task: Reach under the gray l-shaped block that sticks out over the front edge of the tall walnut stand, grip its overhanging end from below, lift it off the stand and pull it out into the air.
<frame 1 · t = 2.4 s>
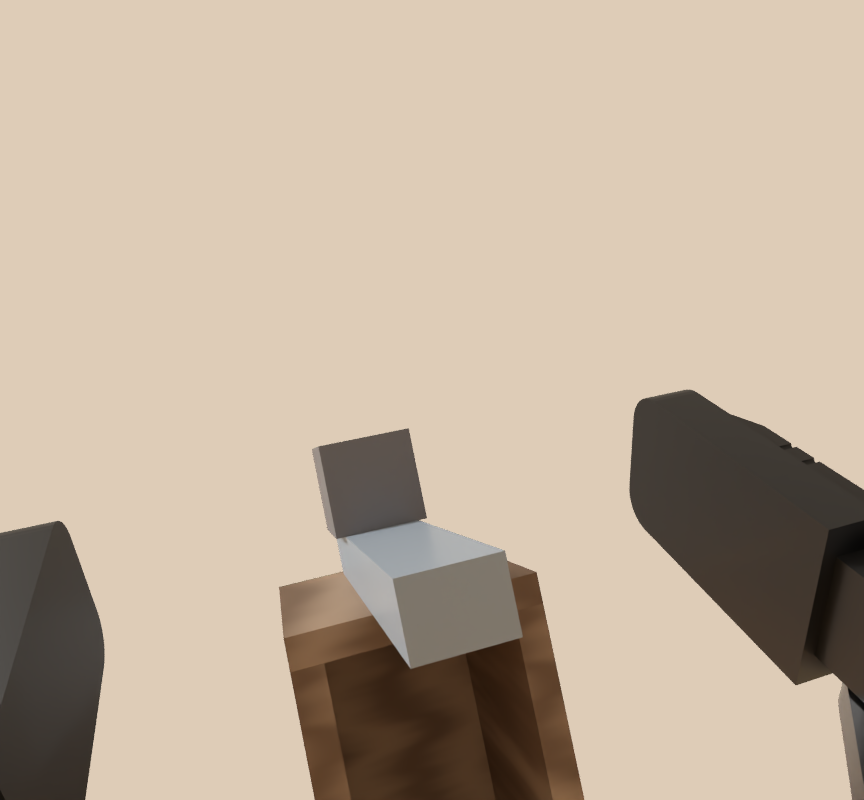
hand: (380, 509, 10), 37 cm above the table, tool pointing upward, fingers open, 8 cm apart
gray l-shaped block: (407, 596, 35), point 30 cm above the table, touching walnut stand
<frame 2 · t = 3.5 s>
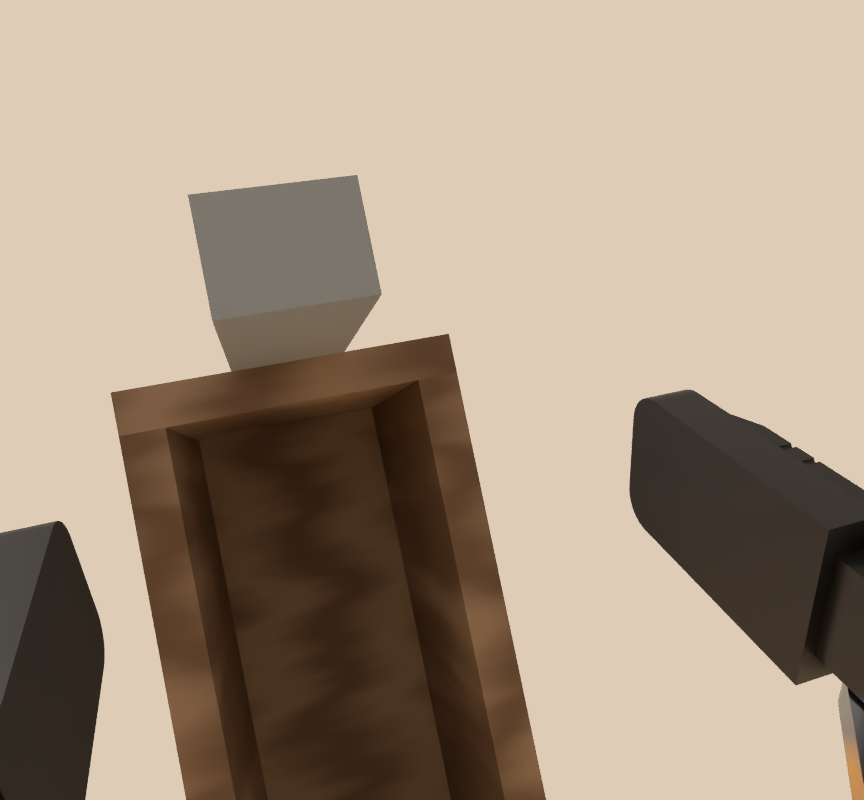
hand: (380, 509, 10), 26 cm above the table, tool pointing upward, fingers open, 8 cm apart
gray l-shaped block: (287, 369, 28), point 30 cm above the table, touching walnut stand
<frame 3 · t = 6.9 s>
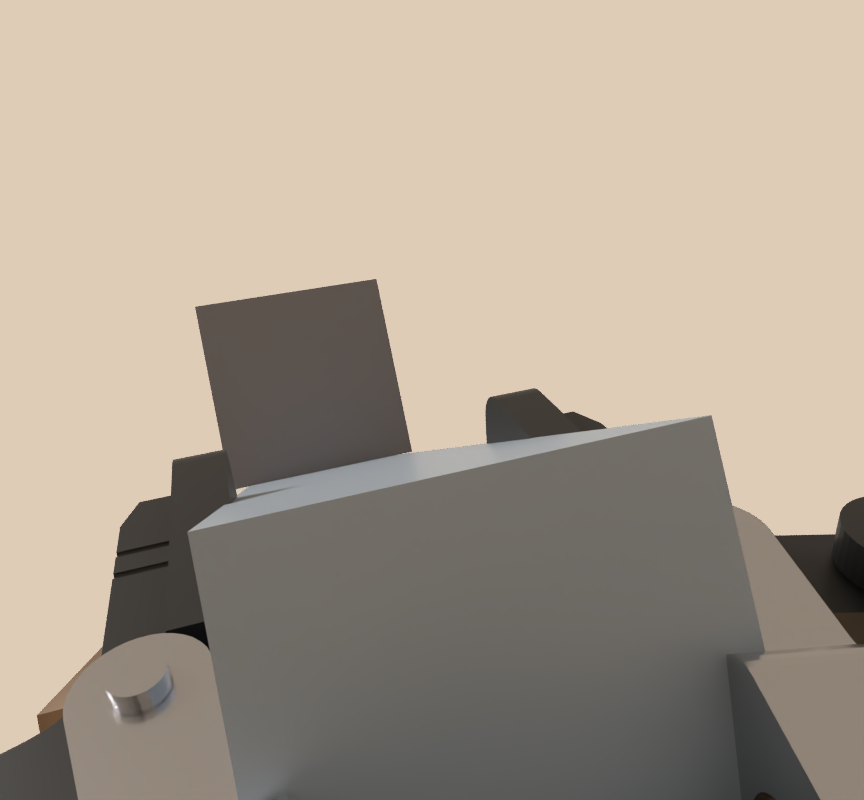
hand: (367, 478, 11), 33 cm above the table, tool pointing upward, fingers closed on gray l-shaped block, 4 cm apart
gray l-shaped block: (364, 605, 16), point 30 cm above the table, touching gripper, walnut stand
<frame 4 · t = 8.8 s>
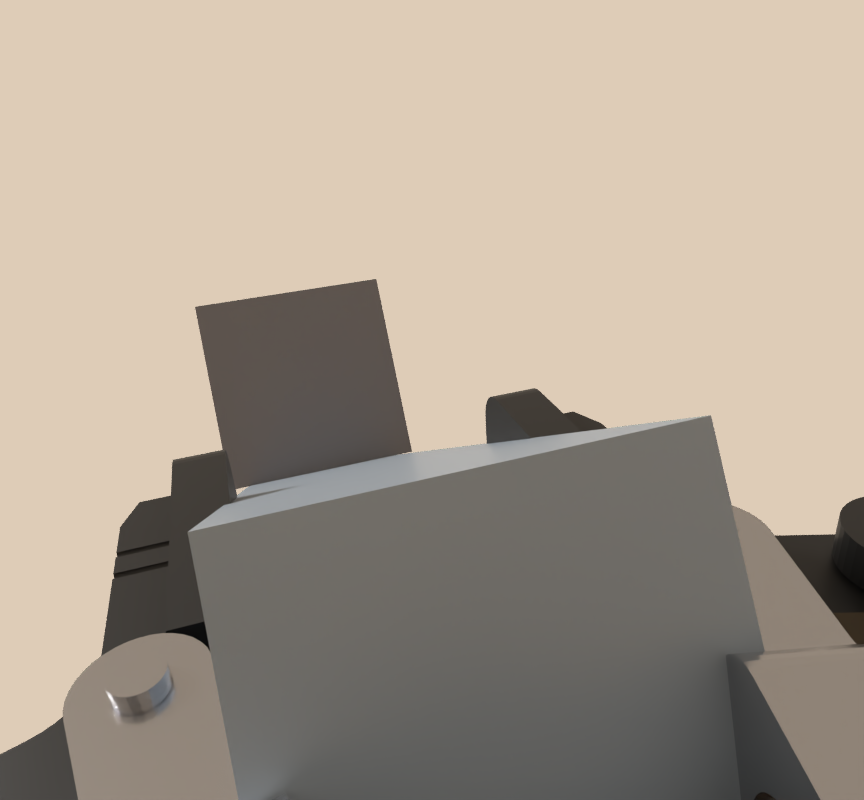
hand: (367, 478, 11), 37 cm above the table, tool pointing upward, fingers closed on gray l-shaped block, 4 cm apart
gray l-shaped block: (364, 605, 16), point 34 cm above the table, touching gripper
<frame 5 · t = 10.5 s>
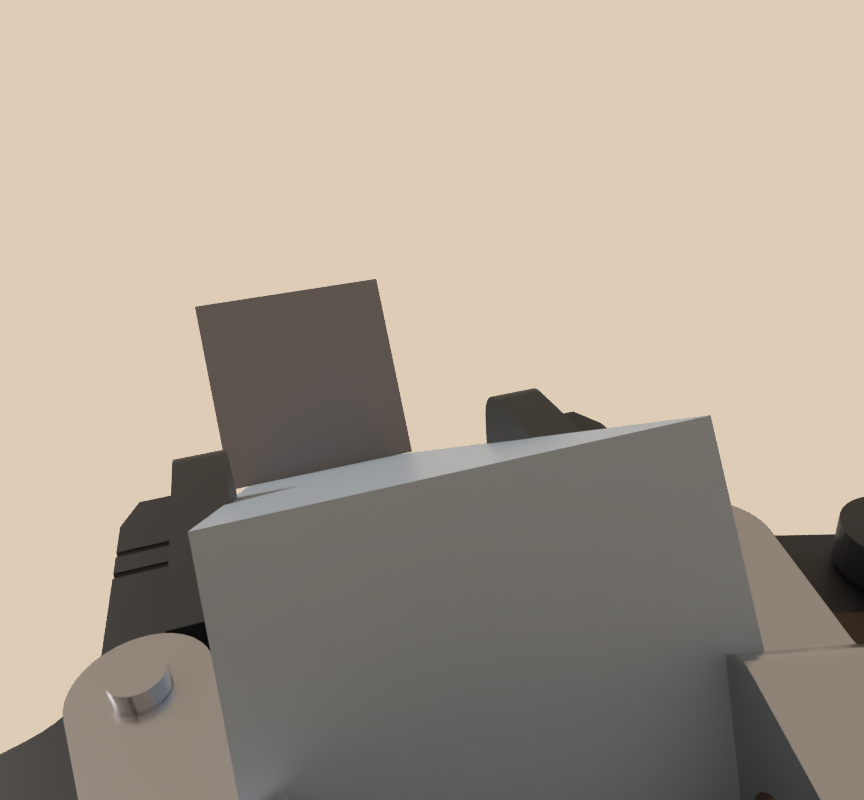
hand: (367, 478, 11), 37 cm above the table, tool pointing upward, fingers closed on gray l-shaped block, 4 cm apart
gray l-shaped block: (364, 605, 16), point 34 cm above the table, touching gripper
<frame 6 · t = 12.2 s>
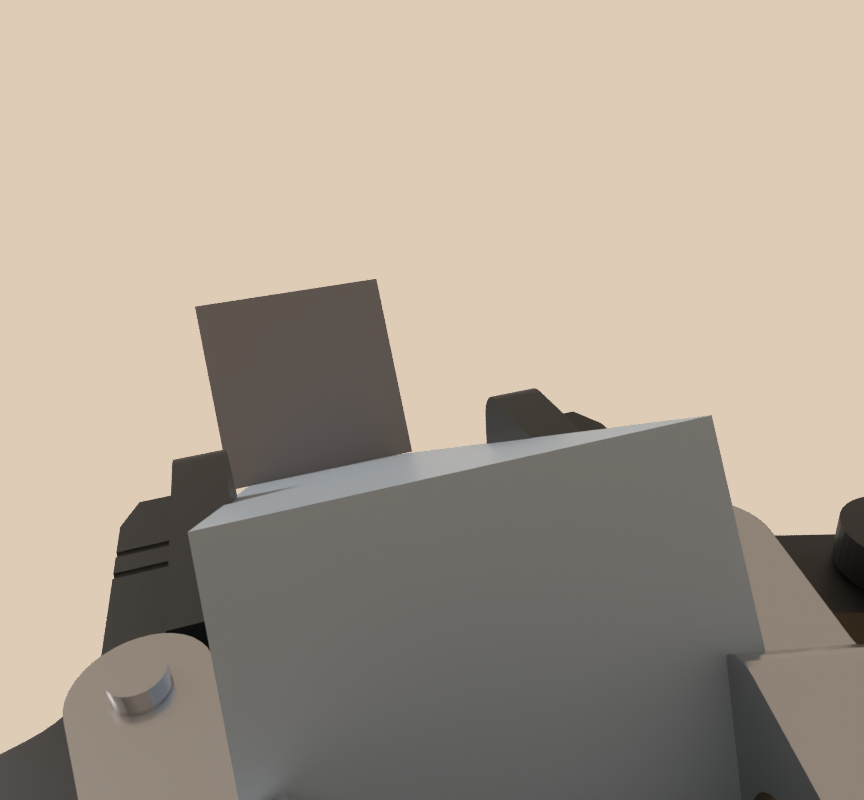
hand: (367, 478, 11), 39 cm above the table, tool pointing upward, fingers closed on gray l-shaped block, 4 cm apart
gray l-shaped block: (364, 605, 16), point 36 cm above the table, touching gripper
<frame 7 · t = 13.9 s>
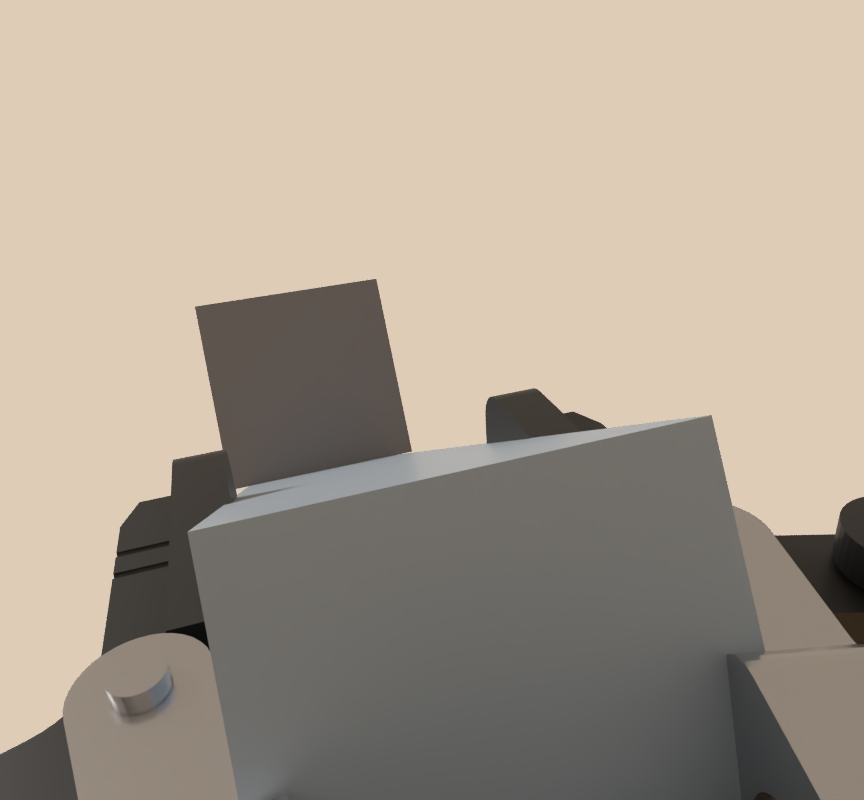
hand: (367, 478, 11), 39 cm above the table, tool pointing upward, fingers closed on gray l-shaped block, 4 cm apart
gray l-shaped block: (364, 605, 16), point 36 cm above the table, touching gripper
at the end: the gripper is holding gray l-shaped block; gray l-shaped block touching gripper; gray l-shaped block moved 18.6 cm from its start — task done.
